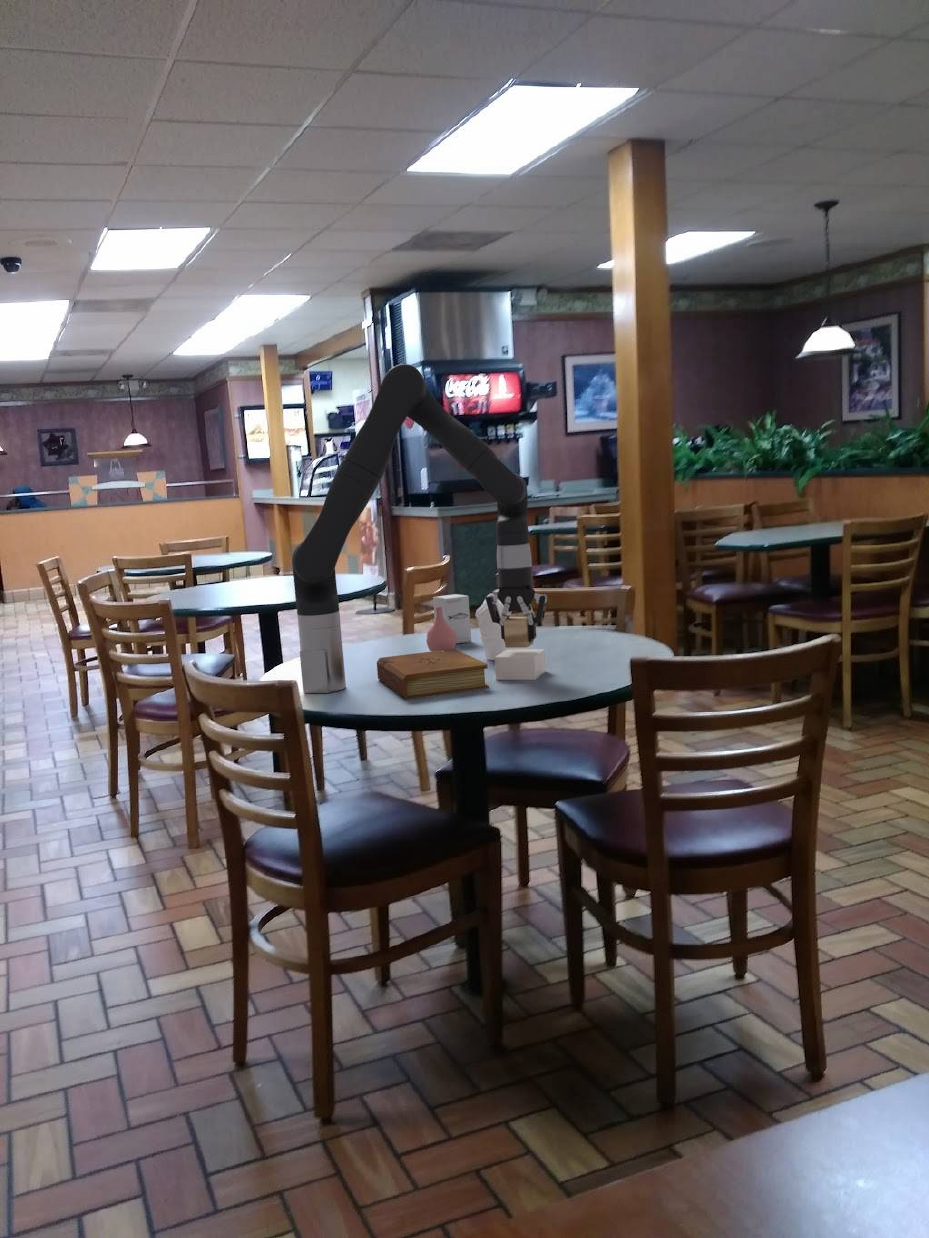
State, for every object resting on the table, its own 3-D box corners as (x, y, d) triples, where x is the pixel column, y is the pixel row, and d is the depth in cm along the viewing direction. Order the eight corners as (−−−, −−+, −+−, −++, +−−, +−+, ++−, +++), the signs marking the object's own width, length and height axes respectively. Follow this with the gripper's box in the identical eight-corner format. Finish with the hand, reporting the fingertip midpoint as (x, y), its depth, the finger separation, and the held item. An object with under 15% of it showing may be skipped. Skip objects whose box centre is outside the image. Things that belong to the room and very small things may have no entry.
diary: (378, 683, 233) (376, 658, 232) (456, 672, 239) (454, 648, 238) (404, 701, 211) (402, 674, 210) (489, 689, 217) (487, 663, 216)
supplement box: (448, 645, 272) (444, 598, 270) (435, 642, 278) (432, 596, 276) (472, 641, 275) (469, 595, 273) (459, 638, 282) (456, 593, 280)
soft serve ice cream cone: (512, 660, 245) (508, 594, 242) (478, 663, 245) (473, 596, 242) (512, 654, 253) (507, 590, 250) (478, 656, 253) (474, 592, 251)
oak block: (527, 647, 223) (525, 620, 222) (505, 647, 225) (503, 620, 224) (533, 643, 228) (531, 616, 227) (511, 643, 229) (510, 617, 229)
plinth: (535, 679, 221) (534, 657, 221) (496, 679, 224) (494, 657, 224) (546, 671, 230) (544, 649, 229) (507, 671, 233) (506, 649, 232)
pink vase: (459, 650, 263) (455, 604, 261) (455, 656, 256) (452, 608, 254) (429, 652, 264) (426, 606, 262) (425, 657, 256) (421, 610, 255)
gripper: (478, 568, 222) (483, 644, 225) (541, 565, 218) (546, 644, 220) (488, 564, 229) (493, 638, 232) (550, 561, 225) (554, 638, 227)
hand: (519, 641), depth 226 cm, fingers closed on oak block, 5 cm apart
